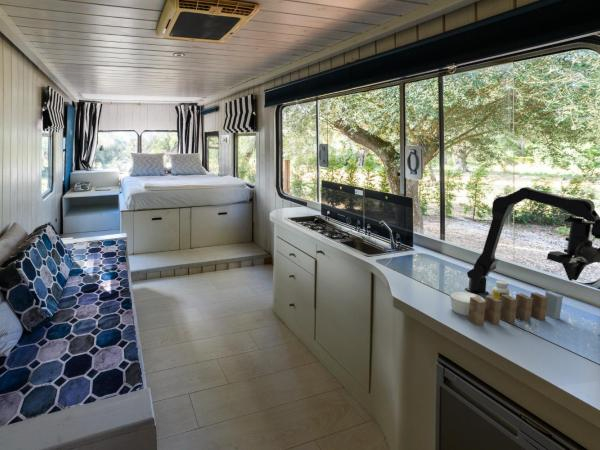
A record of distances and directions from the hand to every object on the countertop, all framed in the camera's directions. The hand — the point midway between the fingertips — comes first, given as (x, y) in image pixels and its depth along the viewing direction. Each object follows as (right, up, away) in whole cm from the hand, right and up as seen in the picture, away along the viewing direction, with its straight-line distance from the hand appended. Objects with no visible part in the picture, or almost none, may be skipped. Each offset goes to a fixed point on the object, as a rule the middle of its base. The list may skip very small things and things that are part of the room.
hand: (572, 280), depth 143 cm
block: (-7, -13, +1) cm, 14 cm away
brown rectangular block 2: (-13, -13, -1) cm, 18 cm away
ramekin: (-35, -12, +4) cm, 38 cm away
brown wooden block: (-25, -13, -3) cm, 28 cm away
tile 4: (-30, -13, -5) cm, 33 cm away
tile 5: (-36, -13, -6) cm, 39 cm away
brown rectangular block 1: (-19, -13, -2) cm, 23 cm away
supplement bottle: (-22, -11, +7) cm, 26 cm away
